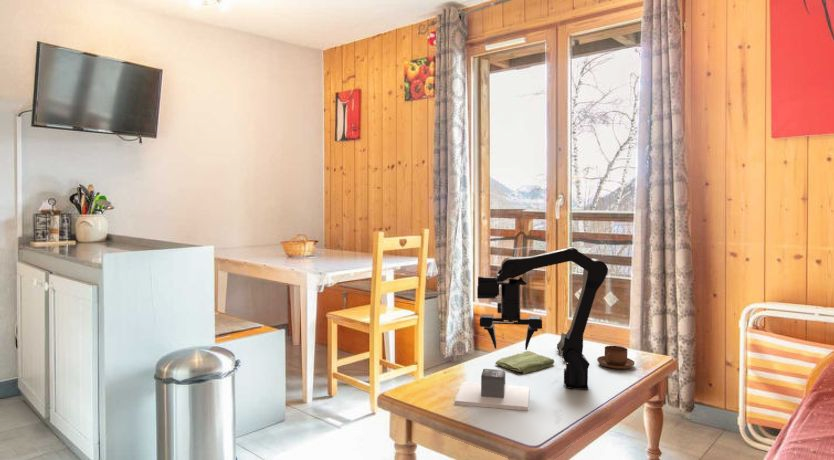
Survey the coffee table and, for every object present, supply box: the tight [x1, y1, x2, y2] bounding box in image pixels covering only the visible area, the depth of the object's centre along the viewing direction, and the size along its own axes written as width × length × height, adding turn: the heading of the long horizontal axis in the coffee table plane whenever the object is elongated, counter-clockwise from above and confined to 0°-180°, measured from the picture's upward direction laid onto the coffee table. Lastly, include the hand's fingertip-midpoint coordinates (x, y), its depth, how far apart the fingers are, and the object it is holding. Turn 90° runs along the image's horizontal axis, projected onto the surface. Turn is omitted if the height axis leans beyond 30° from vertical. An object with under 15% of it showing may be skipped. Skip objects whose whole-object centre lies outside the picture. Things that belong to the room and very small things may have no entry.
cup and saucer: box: [597, 345, 635, 370], centre depth 185 cm, size 12×12×6 cm
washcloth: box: [495, 350, 555, 375], centre depth 185 cm, size 13×18×3 cm
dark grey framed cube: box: [480, 368, 506, 398], centre depth 156 cm, size 6×6×6 cm
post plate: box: [454, 381, 530, 411], centre depth 156 cm, size 20×16×5 cm
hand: (510, 349), depth 166 cm, fingers open, 9 cm apart
